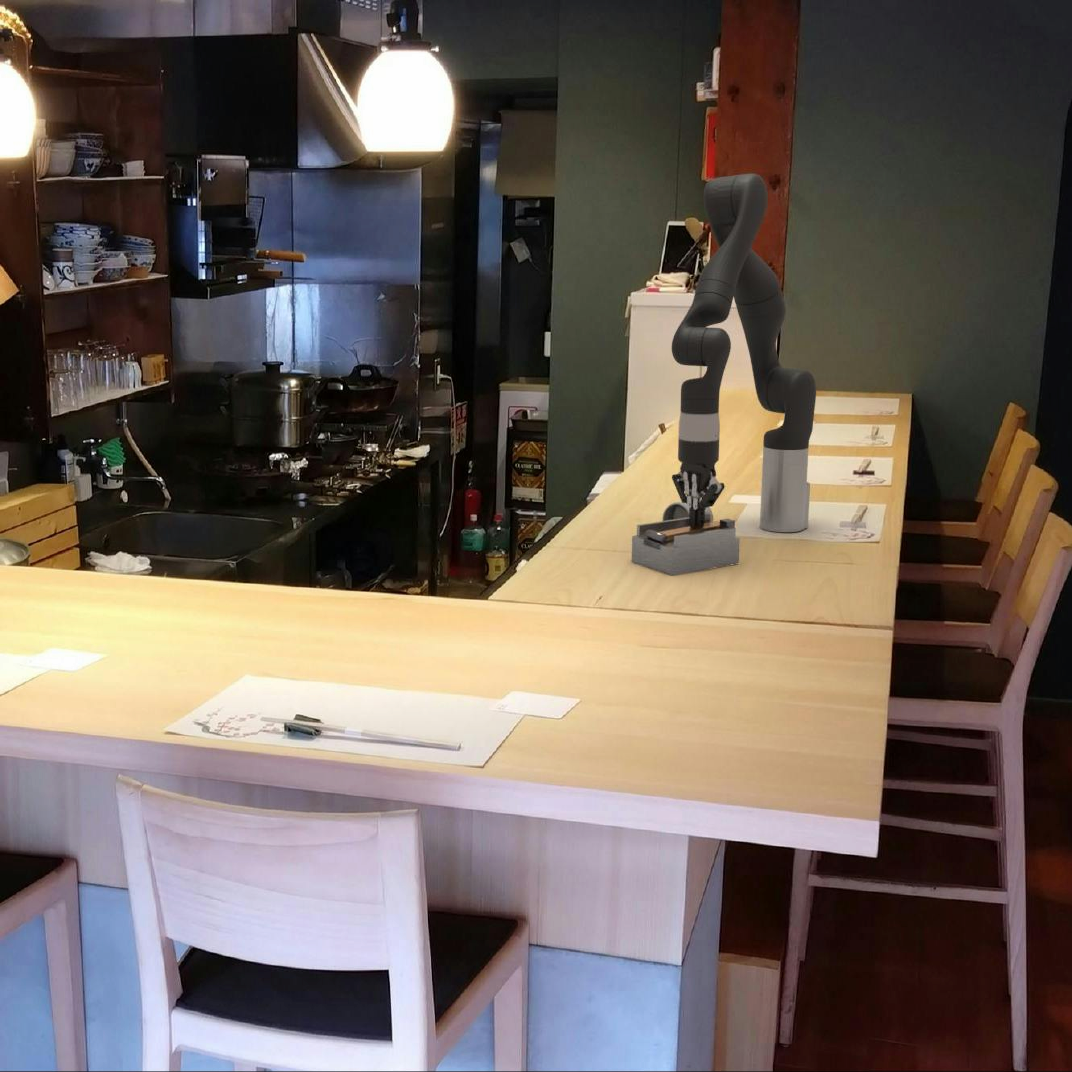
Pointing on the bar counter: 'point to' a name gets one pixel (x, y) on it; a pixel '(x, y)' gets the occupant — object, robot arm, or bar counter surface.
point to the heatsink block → (686, 547)
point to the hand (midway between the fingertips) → (696, 527)
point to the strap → (680, 532)
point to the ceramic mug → (680, 511)
